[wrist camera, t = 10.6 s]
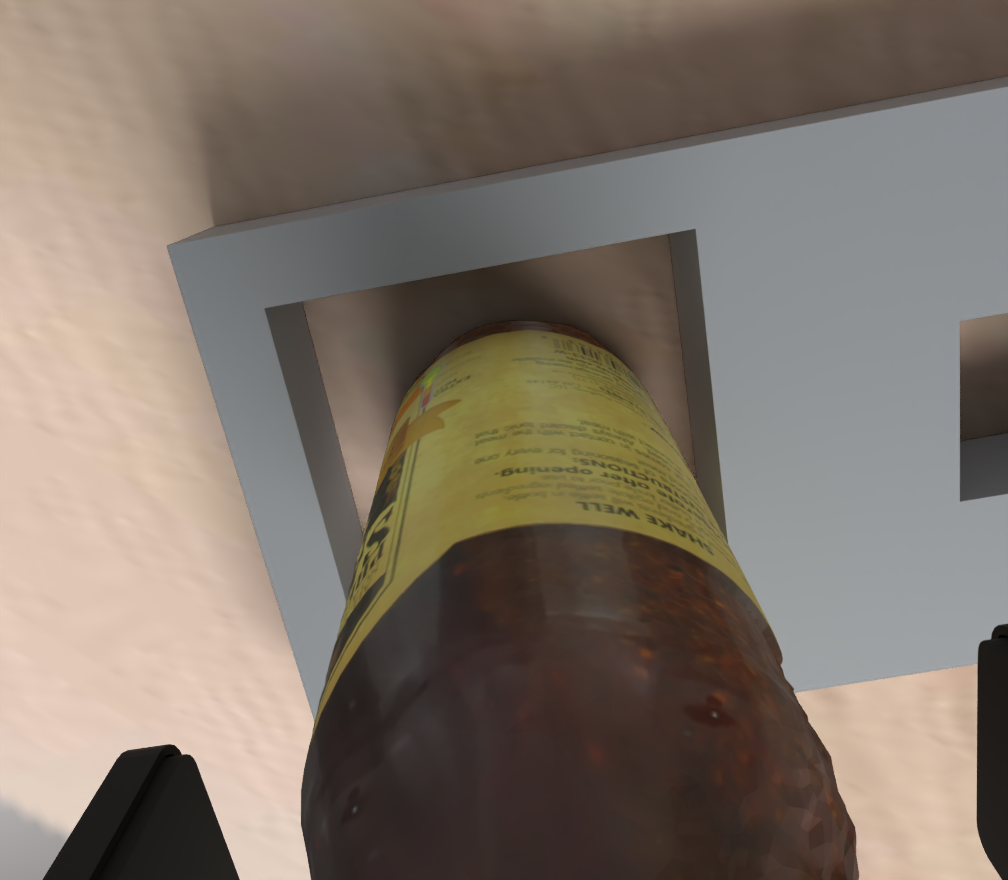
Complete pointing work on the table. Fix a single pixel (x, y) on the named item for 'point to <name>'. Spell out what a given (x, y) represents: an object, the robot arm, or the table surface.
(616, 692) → the sauce bottle
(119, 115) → the table surface
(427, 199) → the caddy
